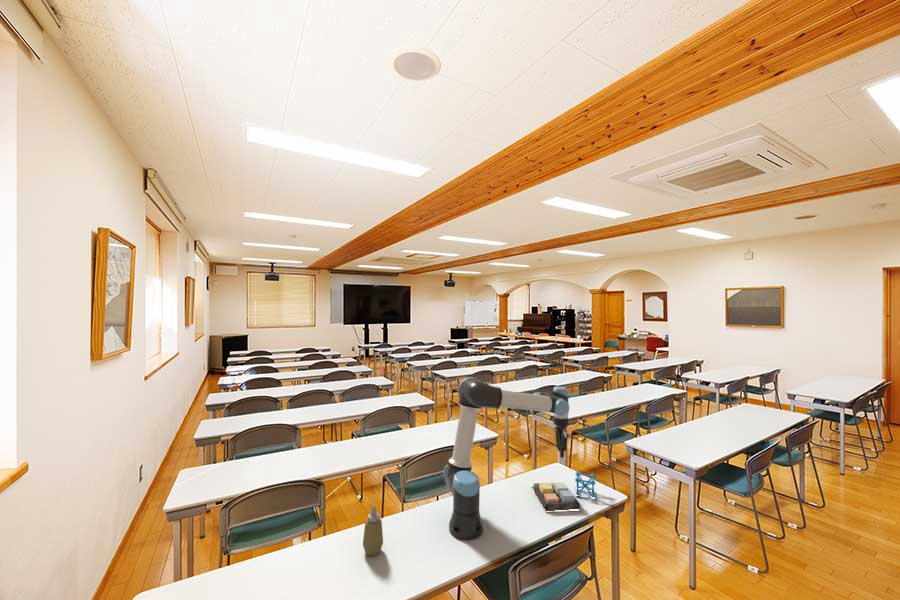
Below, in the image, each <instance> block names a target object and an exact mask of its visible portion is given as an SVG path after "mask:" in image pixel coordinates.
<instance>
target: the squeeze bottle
mask: <svg viewBox="0 0 900 600" xmlns="http://www.w3.org/2000/svg"><path fill="white" fill-rule="evenodd" d="M363 531H364V532H363V539H362V540H363V541H362V546H363V549H364V553H365V555H367V556H369V557H374V556H377V555H378V554H380V553H381V550H382V548H383V545H384V535H383V523H382V519H381V518H380V513H379V512H377V508H376V505H375V504H373V505H372V507H371V511H370V513H368V514H367V519H366V520H365V524H364V530H363Z"/></svg>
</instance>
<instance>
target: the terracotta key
mask: <svg viewBox="0 0 900 600" xmlns="http://www.w3.org/2000/svg"><path fill="white" fill-rule="evenodd" d="M544 499H545V501H546V502H547V503H559V498H558V497H557V496H556V494H555V493H553V494H544Z"/></svg>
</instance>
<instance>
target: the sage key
mask: <svg viewBox="0 0 900 600" xmlns="http://www.w3.org/2000/svg"><path fill="white" fill-rule="evenodd" d="M553 483H554V490H555V491H556V493H557V494H560V491H568V490H569V487H568V486H567V484H566V483H564V482H553Z"/></svg>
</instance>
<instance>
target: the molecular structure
mask: <svg viewBox="0 0 900 600" xmlns="http://www.w3.org/2000/svg"><path fill="white" fill-rule="evenodd" d="M581 476H583V477H590V478H589V479H588V480H584V479H582V477H581ZM595 478H596V475H595V474H594V473H591V474H585V473H580V472H579V471H576V472H575V479H574V481H575V482H576V486H575V488H576V487H577V490H576V492H575V493H576V494H577V495H579V494H581V493H582V491H584V490H583V489H587V490H588V491H587V492H588V493H589V496H592V497H595V498H596V495H595V493H594V489H595V486H594V485H596V480H595ZM580 484H582V485H580ZM590 485H591V487H589V486H590ZM578 488H582V489H580V490H579V491H578ZM589 490H592V493H591V491H589Z"/></svg>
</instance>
